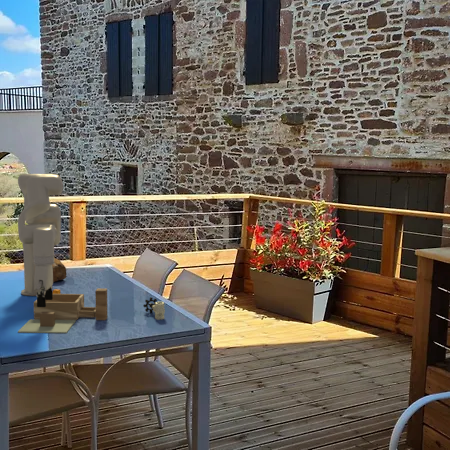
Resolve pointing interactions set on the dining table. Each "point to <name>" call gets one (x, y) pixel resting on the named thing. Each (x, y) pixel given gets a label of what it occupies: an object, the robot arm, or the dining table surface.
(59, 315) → the toolbox
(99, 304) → the brown rectangular block
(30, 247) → the robot arm
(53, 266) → the petrified wood
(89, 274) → the dining table surface
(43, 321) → the lid
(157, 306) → the valve
